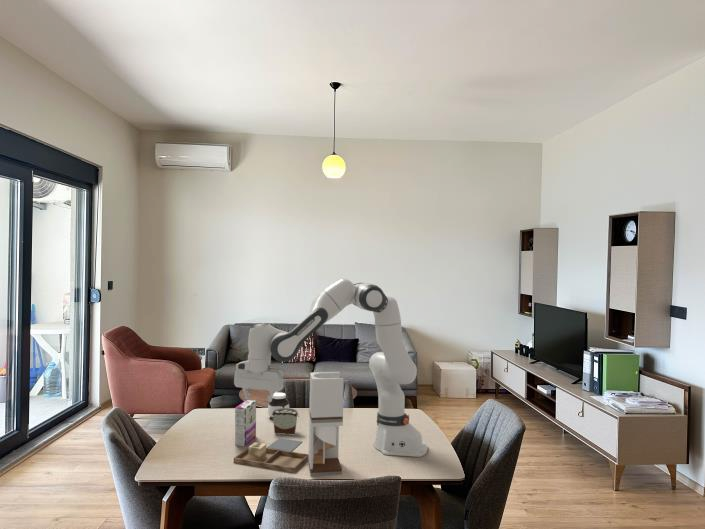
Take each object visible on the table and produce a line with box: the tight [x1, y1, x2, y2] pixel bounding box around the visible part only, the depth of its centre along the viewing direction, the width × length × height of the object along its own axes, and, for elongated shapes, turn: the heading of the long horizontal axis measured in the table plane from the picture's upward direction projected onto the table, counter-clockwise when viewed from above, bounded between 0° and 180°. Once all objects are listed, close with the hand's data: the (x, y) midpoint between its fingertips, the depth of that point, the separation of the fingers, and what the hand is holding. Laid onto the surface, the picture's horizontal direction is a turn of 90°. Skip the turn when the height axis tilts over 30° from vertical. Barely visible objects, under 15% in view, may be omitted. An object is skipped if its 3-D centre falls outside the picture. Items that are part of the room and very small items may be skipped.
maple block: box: [248, 441, 267, 462], centre depth 176 cm, size 5×5×5 cm
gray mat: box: [266, 437, 303, 452], centre depth 189 cm, size 11×11×1 cm
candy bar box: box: [234, 399, 257, 447], centre depth 194 cm, size 11×5×16 cm, turn 168°
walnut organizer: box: [233, 446, 309, 474], centre depth 174 cm, size 26×13×2 cm, turn 72°
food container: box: [272, 407, 300, 435], centre depth 206 cm, size 12×6×10 cm, turn 84°
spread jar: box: [267, 392, 290, 420], centre depth 228 cm, size 12×11×12 cm
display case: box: [307, 371, 345, 477], centre depth 169 cm, size 11×11×35 cm
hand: (258, 400), depth 176 cm, fingers open, 8 cm apart
